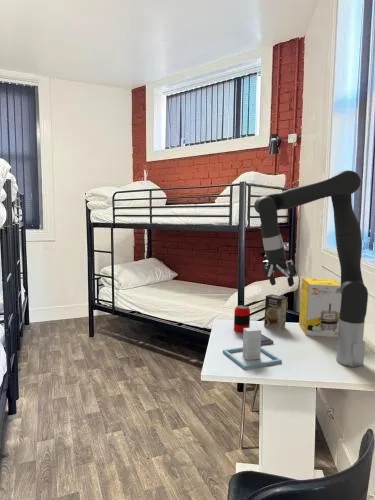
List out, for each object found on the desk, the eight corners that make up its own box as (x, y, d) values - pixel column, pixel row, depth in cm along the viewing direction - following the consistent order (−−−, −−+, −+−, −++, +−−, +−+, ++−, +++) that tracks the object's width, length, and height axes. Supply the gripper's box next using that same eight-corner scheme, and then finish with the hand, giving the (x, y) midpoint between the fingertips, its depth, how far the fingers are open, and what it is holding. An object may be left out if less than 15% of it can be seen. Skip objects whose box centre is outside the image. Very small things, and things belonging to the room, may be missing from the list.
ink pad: (273, 343, 164) (273, 339, 164) (256, 346, 160) (256, 342, 160) (261, 336, 172) (262, 333, 172) (245, 339, 169) (245, 335, 168)
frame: (281, 362, 143) (281, 359, 143) (244, 369, 137) (244, 366, 137) (257, 347, 159) (257, 344, 159) (222, 352, 152) (222, 349, 152)
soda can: (252, 330, 181) (253, 306, 179) (243, 334, 175) (244, 310, 174) (239, 327, 186) (240, 304, 184) (230, 330, 180) (231, 306, 179)
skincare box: (255, 354, 151) (256, 326, 149) (260, 359, 147) (261, 330, 145) (242, 356, 149) (243, 327, 148) (246, 360, 145) (247, 331, 143)
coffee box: (263, 326, 188) (265, 295, 186) (270, 323, 192) (271, 293, 190) (279, 330, 181) (281, 299, 180) (285, 327, 186) (287, 296, 184)
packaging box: (331, 326, 190) (334, 279, 187) (340, 337, 174) (344, 285, 171) (299, 324, 192) (301, 277, 189) (305, 335, 176) (308, 284, 173)
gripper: (294, 243, 140) (302, 283, 143) (265, 244, 151) (273, 281, 154) (283, 249, 135) (291, 290, 138) (253, 249, 146) (262, 287, 149)
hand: (282, 285), depth 146 cm, fingers open, 8 cm apart
